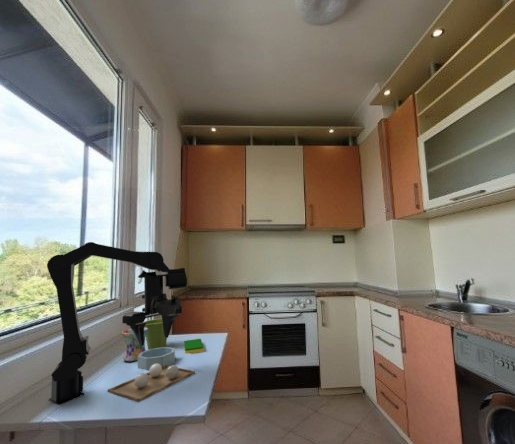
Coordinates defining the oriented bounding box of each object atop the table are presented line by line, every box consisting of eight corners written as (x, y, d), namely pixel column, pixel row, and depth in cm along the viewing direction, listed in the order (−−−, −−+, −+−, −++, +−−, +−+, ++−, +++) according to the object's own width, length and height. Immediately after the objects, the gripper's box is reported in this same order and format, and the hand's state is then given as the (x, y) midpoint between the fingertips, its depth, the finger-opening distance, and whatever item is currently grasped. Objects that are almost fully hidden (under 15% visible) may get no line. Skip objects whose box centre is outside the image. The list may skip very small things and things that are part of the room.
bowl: (153, 372, 93) (153, 360, 94) (131, 367, 100) (131, 355, 100) (181, 360, 103) (181, 349, 104) (160, 356, 110) (159, 345, 110)
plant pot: (170, 350, 117) (169, 321, 119) (139, 354, 115) (139, 325, 117) (172, 342, 129) (172, 317, 130) (145, 346, 126) (144, 320, 128)
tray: (137, 403, 72) (137, 399, 73) (107, 393, 80) (107, 389, 80) (195, 374, 89) (195, 371, 89) (165, 368, 97) (165, 365, 97)
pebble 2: (171, 382, 83) (171, 368, 84) (163, 380, 85) (162, 366, 86) (181, 377, 87) (181, 364, 87) (173, 375, 89) (172, 362, 89)
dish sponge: (185, 355, 110) (184, 349, 110) (184, 346, 123) (184, 340, 123) (203, 353, 112) (203, 346, 112) (201, 344, 125) (200, 338, 125)
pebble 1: (139, 391, 79) (139, 376, 79) (131, 389, 81) (131, 374, 81) (151, 385, 82) (151, 371, 82) (143, 383, 84) (143, 370, 84)
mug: (145, 361, 105) (144, 331, 107) (118, 364, 104) (118, 334, 105) (152, 351, 117) (151, 325, 118) (128, 354, 115) (127, 327, 117)
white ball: (154, 379, 86) (154, 366, 87) (146, 377, 88) (146, 365, 89) (164, 375, 89) (164, 362, 90) (157, 373, 91) (156, 360, 92)
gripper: (144, 295, 80) (144, 353, 78) (192, 287, 96) (194, 336, 94) (121, 294, 86) (121, 349, 84) (170, 287, 102) (171, 333, 100)
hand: (154, 341), depth 90 cm, fingers open, 9 cm apart
